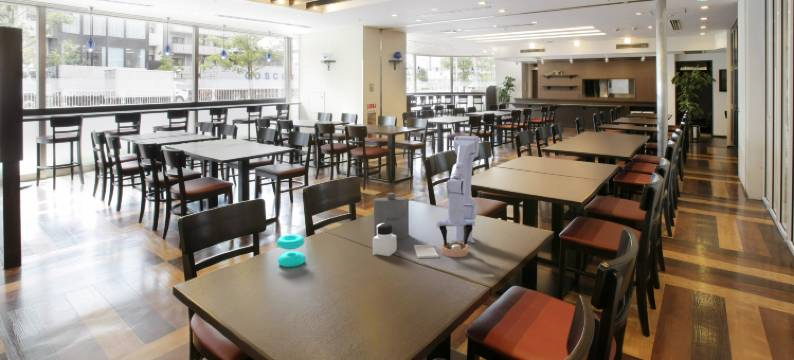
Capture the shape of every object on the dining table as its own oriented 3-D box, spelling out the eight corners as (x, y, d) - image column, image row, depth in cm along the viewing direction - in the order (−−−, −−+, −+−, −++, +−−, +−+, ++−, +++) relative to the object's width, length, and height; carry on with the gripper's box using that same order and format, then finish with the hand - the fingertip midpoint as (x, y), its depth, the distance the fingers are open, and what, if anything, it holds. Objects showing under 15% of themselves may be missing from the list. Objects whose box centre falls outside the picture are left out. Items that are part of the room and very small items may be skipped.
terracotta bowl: (439, 250, 184) (439, 241, 183) (464, 249, 185) (464, 240, 184) (444, 259, 174) (444, 250, 174) (470, 258, 175) (470, 249, 174)
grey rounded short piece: (448, 249, 183) (448, 240, 182) (456, 248, 184) (457, 240, 183) (450, 252, 180) (450, 243, 179) (459, 252, 180) (459, 243, 179)
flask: (375, 241, 195) (374, 195, 191) (373, 237, 201) (372, 192, 197) (410, 239, 197) (409, 194, 193) (407, 235, 203) (407, 190, 199)
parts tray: (414, 248, 186) (414, 245, 186) (433, 248, 186) (433, 244, 186) (417, 260, 174) (417, 256, 174) (438, 259, 175) (438, 255, 174)
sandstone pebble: (450, 253, 179) (450, 244, 178) (459, 252, 179) (459, 244, 178) (452, 256, 175) (452, 247, 175) (461, 256, 176) (461, 247, 175)
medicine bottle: (396, 252, 183) (396, 222, 180) (389, 258, 176) (388, 228, 174) (380, 249, 186) (380, 220, 183) (372, 255, 179) (371, 225, 177)
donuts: (300, 242, 165) (273, 242, 166) (302, 268, 167) (275, 268, 168) (307, 233, 175) (280, 233, 175) (308, 258, 177) (282, 258, 178)
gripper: (438, 213, 170) (438, 248, 173) (477, 212, 171) (476, 246, 174) (435, 208, 177) (435, 242, 180) (472, 207, 178) (471, 240, 181)
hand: (455, 244), depth 177 cm, fingers open, 7 cm apart
